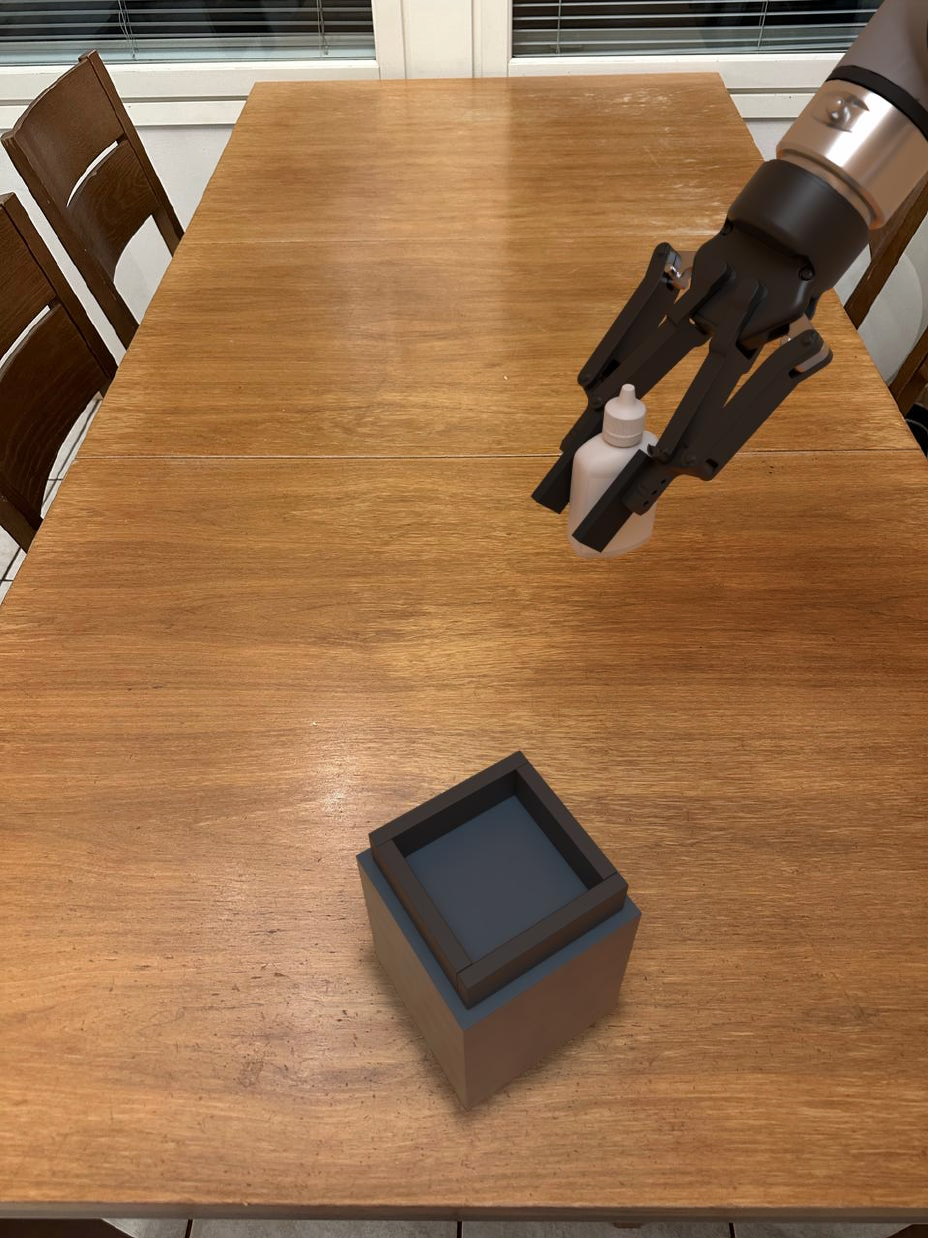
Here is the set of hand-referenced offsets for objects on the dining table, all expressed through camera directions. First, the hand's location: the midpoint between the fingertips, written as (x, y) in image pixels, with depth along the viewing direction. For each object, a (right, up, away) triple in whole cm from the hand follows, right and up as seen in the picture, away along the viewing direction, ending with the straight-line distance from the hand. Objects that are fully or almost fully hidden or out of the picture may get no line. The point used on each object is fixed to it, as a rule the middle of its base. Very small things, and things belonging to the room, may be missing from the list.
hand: (565, 523), depth 60 cm
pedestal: (-4, -31, +6) cm, 32 cm away
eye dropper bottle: (+3, -1, +4) cm, 5 cm away
